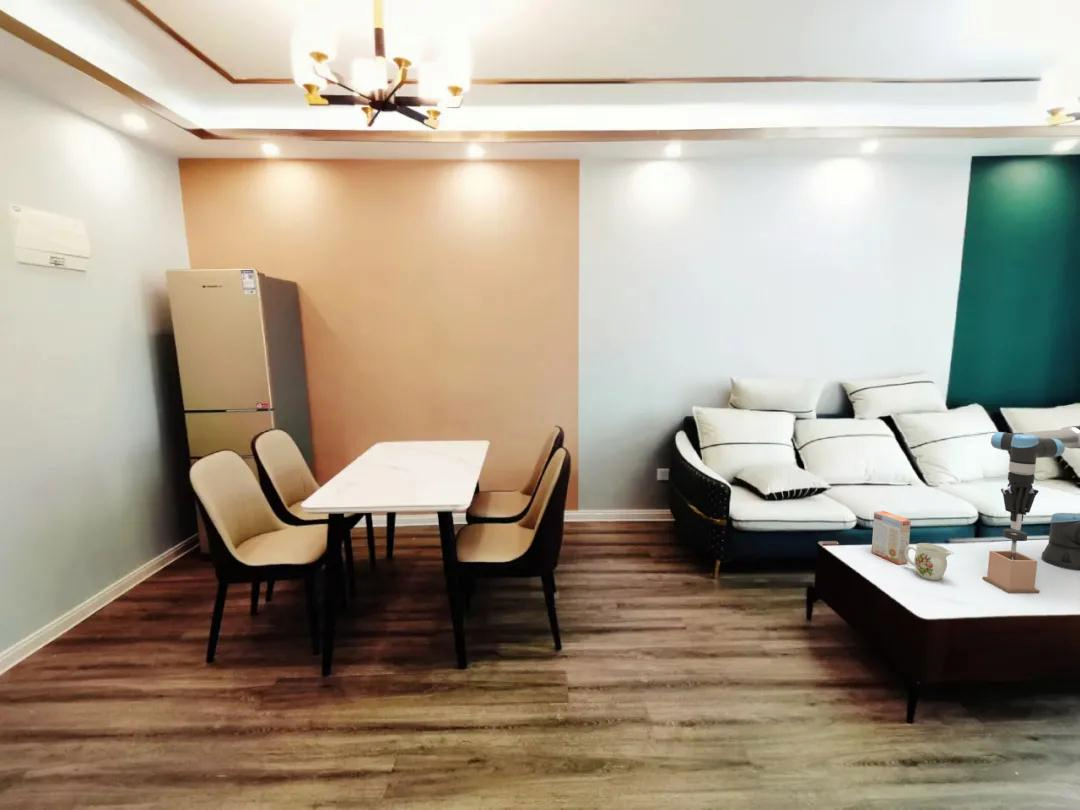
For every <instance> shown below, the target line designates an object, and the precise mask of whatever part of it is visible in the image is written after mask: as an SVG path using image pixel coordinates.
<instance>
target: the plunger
mask: <svg viewBox="0 0 1080 810" xmlns="http://www.w3.org/2000/svg"><path fill="white" fill-rule="evenodd" d="M1002 535H1003V536H1002V537H1004V538H1006V539H1009V540H1011V545H1010V546H1011V547H1010V549H1011V550H1010V551H1011V556H1010V560H1015V554H1016V552H1017V542H1026V541H1027V540H1028V533H1027V532H1025V531H1023V530H1015V529H1013V528H1004V529H1003V533H1002Z"/></svg>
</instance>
